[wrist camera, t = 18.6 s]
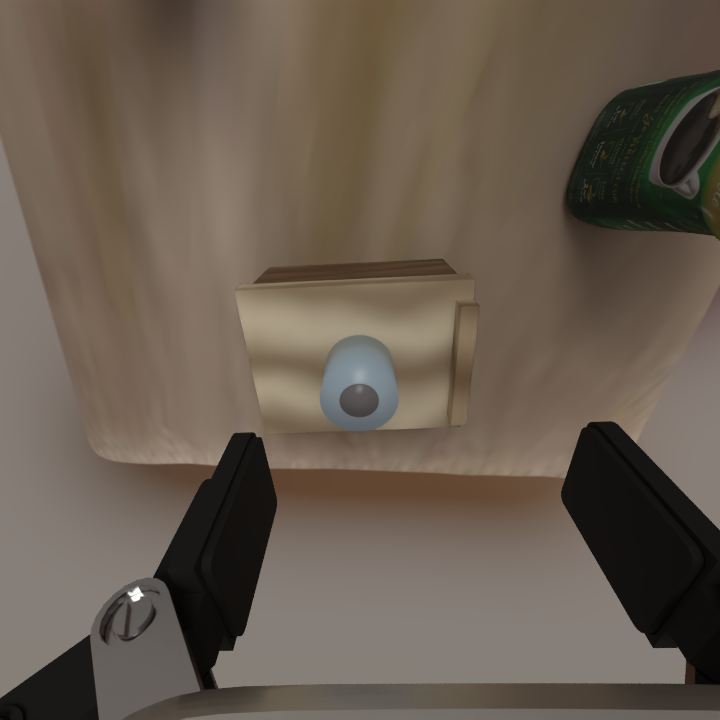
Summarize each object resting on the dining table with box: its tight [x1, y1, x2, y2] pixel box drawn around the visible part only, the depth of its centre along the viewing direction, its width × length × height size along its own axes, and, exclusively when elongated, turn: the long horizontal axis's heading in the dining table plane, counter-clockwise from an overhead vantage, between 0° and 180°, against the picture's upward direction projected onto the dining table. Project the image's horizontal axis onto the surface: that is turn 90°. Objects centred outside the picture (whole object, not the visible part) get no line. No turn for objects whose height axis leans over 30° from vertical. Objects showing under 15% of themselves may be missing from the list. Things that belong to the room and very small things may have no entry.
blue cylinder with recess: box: [320, 335, 399, 432], centre depth 25 cm, size 5×5×5 cm
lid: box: [234, 274, 480, 434], centre depth 27 cm, size 13×17×3 cm
